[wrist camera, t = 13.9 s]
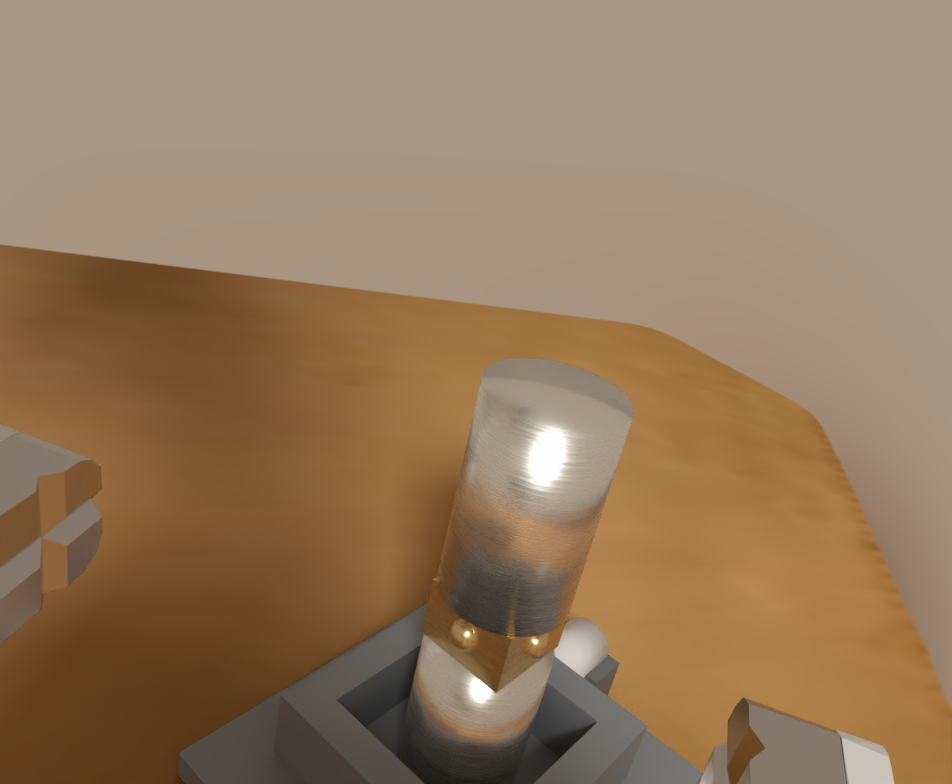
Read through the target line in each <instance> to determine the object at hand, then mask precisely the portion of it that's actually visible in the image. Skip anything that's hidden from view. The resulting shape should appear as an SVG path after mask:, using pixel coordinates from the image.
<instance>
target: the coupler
mask: <svg viewBox="0 0 952 784" xmlns="http://www.w3.org/2000/svg"><path fill="white" fill-rule="evenodd" d="M633 414H634V410H633V406H632V404H631V402H630V400H629V399H628V398H627V396H626V395H625V394H624V393H623V392H622V391H621V390H619V389H618V388H617V387H616V386H614V385H613V384H611V383H610V382H608V381H606V380H605V379H603V378H601V377H599V376H597V375H595V374H593V373H591V372H588V371H586V370H583V369H580V368H578V367H575V366H571V365H568V364H564V363H560V362H556V361H550V360H544V359H535V358H513V359H506V360H502V361H498V362H496V363H494V364H492V365H490V366H489V367H488V368H486V370H485V371H484V373H483V376H482V380H481V385H480V389H479V393H478V398H477V402H476V406H475V411H474V415H473V420H472V424H471V428H470V433H469V437H468V442H467V446H466V450H465V455H464V459H463V464H462V468H461V472H460V477H459V481H458V486H457V490H456V494H455V499H454V503H453V507H452V512H451V516H450V521H449V525H448V529H447V534H446V538H445V543H444V547H443V551H442V556H441V560H440V565H439V569H438V573H437V577H436V578H434V579H433V581H432V585H431V589H430V594H429V598H428V603H427V607H426V612H425V616H424V621H423V625H422V629H421V632H422V633H423V634H424V635H423V639H422V644H421V648H420V652H419V657H418V661H417V666H416V670H415V674H414V679H413V683H412V687H411V692H410V696H409V701H408V705H407V709H406V714H405V718H404V723H403V727H402V731H401V736H400V740H399V745H398V749H397V755H396V757H397V758H398V759H399V760H400V761H401V762H402V763H403V764H404V765H405V766H407V767H408V768H409V769H410V770H411V771H412V772H413V773H414V774H415V775H416V776H417V777H418V778H419V779H420V780H421V781H422V782H423V783H424V784H514V783H515V780H516V776H517V773H518V770H519V767H520V764H521V761H522V758H523V755H524V752H525V749H526V746H527V742H528V739H529V736H530V733H531V730H532V727H533V724H534V721H535V718H536V715H537V712H538V709H539V705H540V702H541V699H542V696H543V693H544V690H545V687H546V684H547V681H548V678H549V675H550V671H551V668H552V665H553V662H554V656H555V650H554V649H555V648H557V647H558V645H559V642H560V639H561V635H562V632H563V629H564V626H565V623H566V620H567V617H568V615H569V613H570V610H571V607H572V604H573V600H574V597H575V594H576V591H577V588H578V585H579V582H580V579H581V576H582V573H583V570H584V566H585V563H586V560H587V557H588V554H589V551H590V548H591V545H592V542H593V539H594V536H595V532H596V529H597V526H598V523H599V520H600V517H601V514H602V511H603V508H604V505H605V502H606V499H607V495H608V492H609V489H610V486H611V483H612V480H613V477H614V474H615V471H616V468H617V465H618V461H619V458H620V455H621V452H622V449H623V446H624V443H625V440H626V437H627V434H628V431H629V427H630V424H631V421H632V418H633Z"/></svg>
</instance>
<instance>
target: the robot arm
mask: <svg viewBox="0 0 952 784" xmlns="http://www.w3.org/2000/svg"><path fill="white" fill-rule="evenodd" d="M101 489H102V482H101V467H100V466H99V465H98V464H97V463H95V462H94V461H93V460H92V459H90V458H87V457H84V456H82V455H79V454H77V453H74V452H72V451H69V450H67V449H64V448H62V447H59V446H57V445H54V444H51V443H49V442H46V441H44V440H41V439H39V438H36V437H34V436H31V435H29V434H23V433H21V432H19V431H16V430H14V429H11V428H9V427H6V426H4V425H1V424H0V644H1V643H3V642H4V641H5V640H6V639H7V638H8V637H9V636H11V635H12V634H13V633H14V632H15V631H16V630H18V629H19V628H20V627H21V626H22V625H23V624H25V623H26V622H27V621H28V620H29V619H30V618H32V617H33V616H34V615H35V614H36V613H37V612H39V611H40V610H41V609H42V602H43V595H44V593H46V592H49V591H53V590H56V589H60V588H63V587H66V586H68V585H70V584H71V583H72V582H73V581H74V580H75V579H76V578H77V577H78V576H79V575H80V574H82V573H83V572H84V571H85V569H86V567H87V566H88V564H89V563H90V561H91V559H92V558H93V556H94V555H95V553H96V551H97V549H98V545H99V541H100V538H101V534H102V517H101V515H100V513H99V511H98V510H97V508H96V506H95V504H94V503H93V501H92V498H93V497H94V496H95V495H96V494H97V493H98V492H99V491H100V490H101ZM700 784H895V783H894V778H893V773H892V768H891V764H890V759H889V754H888V753H887V752H886V750H885V749H884V747H883V746H882V745H879V744H876V743H873V742H870V741H867V740H864V739H861V738H858V737H856V736H853V735H850V734H847V733H844V732H841V731H838V730H832V729H830V728H827V727H824V726H822V725H819V724H816V723H813V722H811V721H808V720H805V719H802V718H799V717H797V716H794V715H791V714H788V713H785V712H783V711H780V710H777V709H774V708H771V707H769V706H766V705H763V704H760V703H757V702H755V701H752V700H749V699H746V698H742V699H741V701H740V702H739V703H738V704H737V705H736V706H735V708H734V710H733V712H732V714H731V716H730V718H729V720H728V736H727V743H725V744H723V745H720V746H718V747H715V748H714V749H713V752H712V754H711V756H710V758H709V760H708V762H707V765H706V767H705V769H704V772H703V776H702V779H701V782H700Z"/></svg>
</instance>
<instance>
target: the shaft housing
mask: <svg viewBox="0 0 952 784" xmlns="http://www.w3.org/2000/svg"><path fill="white" fill-rule="evenodd" d="M427 603H428V602H427ZM427 603H426V604H424V605H422V606H421V607H419V608H417V609H416V610H414V611H412V612H411V613H409V614H407V615H406V616H404V617H402V618H401V619H399V620H397V621H396V622H394V623H392V624H391V625H389V626H387V627H386V628H384V629H382V630H381V631H379V632H378V633H376V634H374V635H373V636H371V637H369V638H368V639H366V640H364V641H363V642H361V643H359V644H358V645H356V646H354V647H353V648H351V649H349V650H348V651H346V652H344V653H343V654H341V655H339V656H338V657H336V658H334V659H333V660H331V661H329V662H328V663H326V664H325V665H323V666H321V667H320V668H318V669H316V670H315V671H313V672H311V673H310V674H308V675H306V676H305V677H303V678H301V679H300V680H298V681H296V682H295V683H293V684H291V685H290V686H288V687H286V688H285V689H283V690H281V691H280V692H278V693H277V694H275V695H273V696H272V697H270V698H268V699H267V700H265V701H263V702H262V703H260V704H258V705H257V706H255V707H253V708H252V709H250V710H248V711H247V712H245V713H243V714H242V715H240V716H238V717H237V718H235V719H233V720H232V721H230V722H228V723H227V724H225V725H224V726H222V727H220V728H219V729H217V730H215V731H214V732H212V733H210V734H209V735H207V736H205V737H204V738H202V739H200V740H199V741H197V742H195V743H194V744H192V745H190V746H189V747H187V748H185V749H184V750H182V751H180V752H179V753H178V766H177V775H178V776H179V777H180V778H181V780H182V781H183V782H184V783H185V784H424V783H423V782H422V781H421V780H420V779H419V778H418V777H417V776H416V775H415V774H414V773H413V772H412V771H411V770H410V769H409V768H408V767H407V766H405V765H404V764H403V763H402V762H401V761H400V760H399V759H398V758H397V757H396V755H397V749H398V745H399V740H400V736H401V731H402V727H403V723H404V718H405V714H406V709H407V705H408V701H409V696H410V692H411V687H412V683H413V679H414V674H415V670H416V666H417V661H418V657H419V652H420V648H421V644H422V639H423V635H424V634H423V633H422V632H421V629H422V625H423V621H424V616H425V612H426V607H427ZM554 650H555V656H554V662H553V665H552V668H551V671H550V675H549V678H548V681H547V684H546V687H545V690H544V693H543V696H542V699H541V702H540V705H539V709H538V712H537V715H536V718H535V721H534V724H533V727H532V730H531V733H530V736H529V739H528V742H527V746H526V749H525V752H524V755H523V758H522V761H521V764H520V767H519V770H518V773H517V776H516V780H515V783H514V784H699V782H700V780H701V777H702V775H703V773H702V772H700V771H699V770H698V769H696V768H695V767H694V766H692V765H691V764H690V763H688V762H687V761H686V760H684V759H683V758H682V757H680V756H679V755H678V754H676V753H675V752H674V751H672V750H671V749H670V748H668V747H667V746H666V745H665V744H663V743H662V742H661V741H659V740H658V739H657V738H655V737H654V736H653V735H651V734H650V733H649V732H647V731H646V728H647V725H645V724H644V723H643V722H641V721H640V720H639V719H638V718H636V717H635V716H634V715H632V714H631V713H630V712H628V711H627V710H626V709H624V708H623V707H622V706H620V705H619V704H618V703H616V702H615V701H614V700H612V699H611V698H610V697H608V696H607V695H608V693H609V690H610V687H611V685H612V682H613V679H614V676H615V674H616V671H617V668H618V666H619V662H617V661H616V660H614V659H613V658H612V657H610V656H609V655H608V644H607V640H606V638H605V636H604V634H603V632H602V631H601V630H600V628H599V627H598V626H597V625H596V624H595V623H593V622H592V621H590V620H588V619H586V618H582V617H576V618H573V619H571V620H570V621H568V622H567V623H566V624H565V626H564V629H563V632H562V635H561V639H560V642H559V645H558V647H557V648H555V649H554Z"/></svg>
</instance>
